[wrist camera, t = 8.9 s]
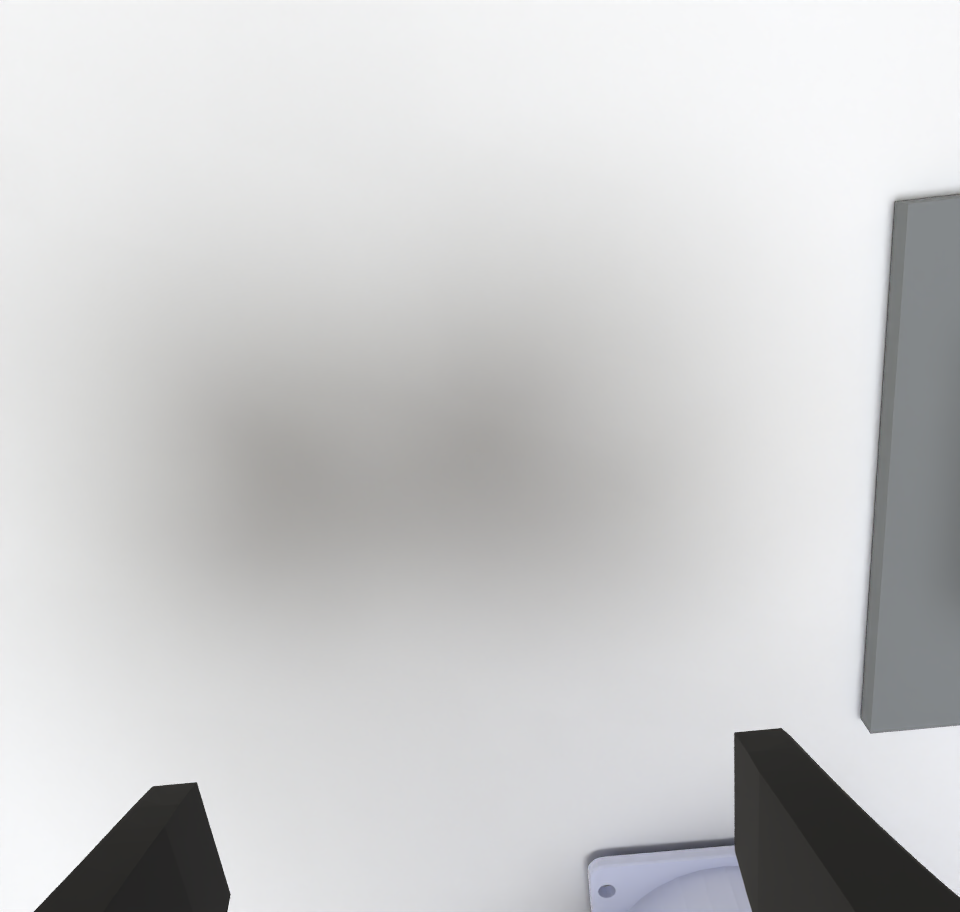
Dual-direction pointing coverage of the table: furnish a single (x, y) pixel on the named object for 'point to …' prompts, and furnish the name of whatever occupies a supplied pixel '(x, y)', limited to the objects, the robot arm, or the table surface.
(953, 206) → the charcoal mat
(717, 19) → the table surface
